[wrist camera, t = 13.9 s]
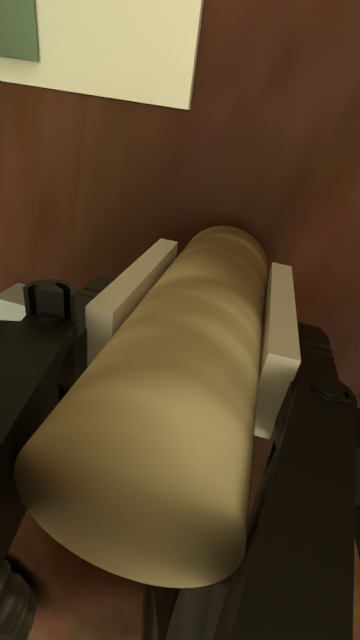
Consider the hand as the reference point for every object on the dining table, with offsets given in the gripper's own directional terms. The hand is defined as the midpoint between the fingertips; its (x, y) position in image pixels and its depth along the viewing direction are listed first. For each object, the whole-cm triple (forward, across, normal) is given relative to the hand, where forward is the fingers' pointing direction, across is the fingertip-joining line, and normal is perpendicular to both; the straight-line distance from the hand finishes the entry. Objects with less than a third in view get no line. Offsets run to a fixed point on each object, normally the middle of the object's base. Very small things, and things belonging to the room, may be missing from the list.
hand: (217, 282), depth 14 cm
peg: (+2, 0, 0) cm, 2 cm away
